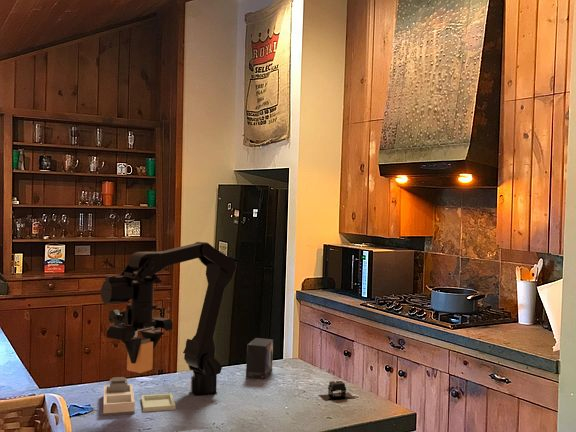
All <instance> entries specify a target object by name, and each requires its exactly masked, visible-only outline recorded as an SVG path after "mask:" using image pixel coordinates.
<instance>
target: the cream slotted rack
mask: <svg viewBox="0 0 576 432" xmlns="http://www.w3.org/2000/svg"><path fill="white" fill-rule="evenodd" d="M135 402H136V401H135V395H134V387H133V383H128V378H126V377H125V376H117V377H116V376H115V377H111V378H110V379H109V385H103V411H102V412H103V417H108V416H121V415H134V414H136V413H135V411H136V410H135V409H136V406H135V405H136V404H135Z"/></svg>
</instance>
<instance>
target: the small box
mask: <svg viewBox="0 0 576 432" xmlns="http://www.w3.org/2000/svg"><path fill="white" fill-rule="evenodd" d="M273 352H274V339H271V338H262V337H261V338H260V337H255V338H253V339H252V340H251V341H249V343H247V345H246V367H245V368H246V369H245V378H247V379H249V378H250V379H259V380H260V379H261V380H265V379H266V378H267V377H268V376H269V375H270V373H271V372H273V357H274V354H273Z"/></svg>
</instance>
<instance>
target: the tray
mask: <svg viewBox="0 0 576 432" xmlns="http://www.w3.org/2000/svg"><path fill="white" fill-rule="evenodd" d="M140 400H141V405H142V411H143V412H144V413H145V412H157V411H168V410H169V411H170V410H171V411H173V410H176V409H177V408H176V402H175V400H174V397H173V394H172V393H160V394H159V393H158V394H148V395H147V394H146V395H145V394H143V395H142V394H141V399H140Z"/></svg>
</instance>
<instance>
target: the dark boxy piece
mask: <svg viewBox="0 0 576 432" xmlns="http://www.w3.org/2000/svg"><path fill="white" fill-rule="evenodd" d="M328 383H329V384H328V385H327V386H328V387H327V390H328V391H327V394H318V397H320V399H322V400H323V401H324V402H330V401H343V400H355V399H357V398H356V396H354V395H352V394H351V393H350V392H346V391H347V387H346V383H345V382H343V381H342V380H337V381H334V380H333V381H332V380H331V381H328ZM337 391H339V392H337Z"/></svg>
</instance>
